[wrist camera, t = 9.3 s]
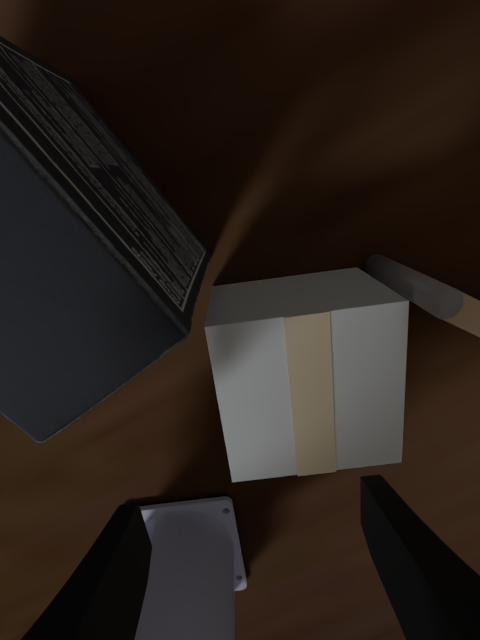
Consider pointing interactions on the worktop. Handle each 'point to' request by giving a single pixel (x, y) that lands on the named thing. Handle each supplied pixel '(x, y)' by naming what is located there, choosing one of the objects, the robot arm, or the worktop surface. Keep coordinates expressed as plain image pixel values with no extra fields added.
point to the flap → (427, 293)
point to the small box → (80, 254)
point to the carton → (308, 372)
